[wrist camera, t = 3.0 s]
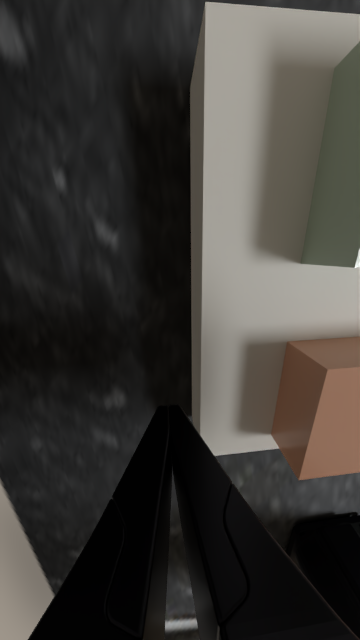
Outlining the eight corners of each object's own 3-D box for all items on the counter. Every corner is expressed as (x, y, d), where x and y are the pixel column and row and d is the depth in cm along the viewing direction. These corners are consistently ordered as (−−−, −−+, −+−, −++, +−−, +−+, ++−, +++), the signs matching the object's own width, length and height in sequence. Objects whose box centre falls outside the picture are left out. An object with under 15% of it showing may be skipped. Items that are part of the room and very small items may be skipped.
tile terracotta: (364, 424, 10) (414, 465, 8) (271, 434, 9) (298, 479, 8) (399, 333, 8) (470, 358, 6) (287, 341, 8) (327, 369, 6)
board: (371, 399, 13) (418, 432, 10) (191, 416, 12) (199, 457, 9) (482, 100, 8) (619, 36, 6) (190, 87, 7) (205, 2, 5)
